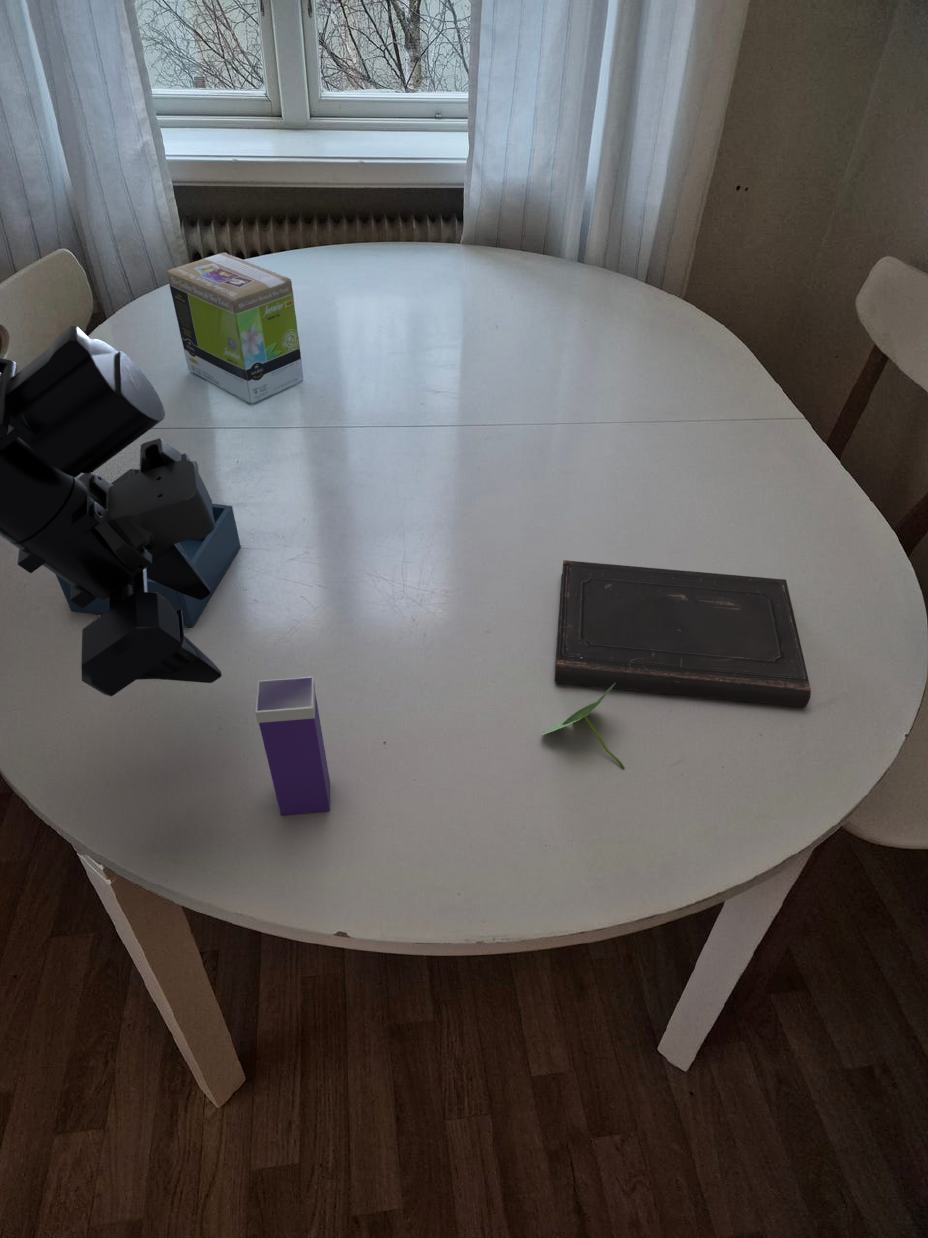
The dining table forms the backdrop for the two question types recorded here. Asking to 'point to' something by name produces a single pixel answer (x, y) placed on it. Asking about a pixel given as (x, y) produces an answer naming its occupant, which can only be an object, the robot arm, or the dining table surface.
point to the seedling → (584, 713)
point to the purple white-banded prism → (294, 744)
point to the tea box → (237, 325)
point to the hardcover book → (679, 634)
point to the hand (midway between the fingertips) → (211, 634)
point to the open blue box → (204, 554)
